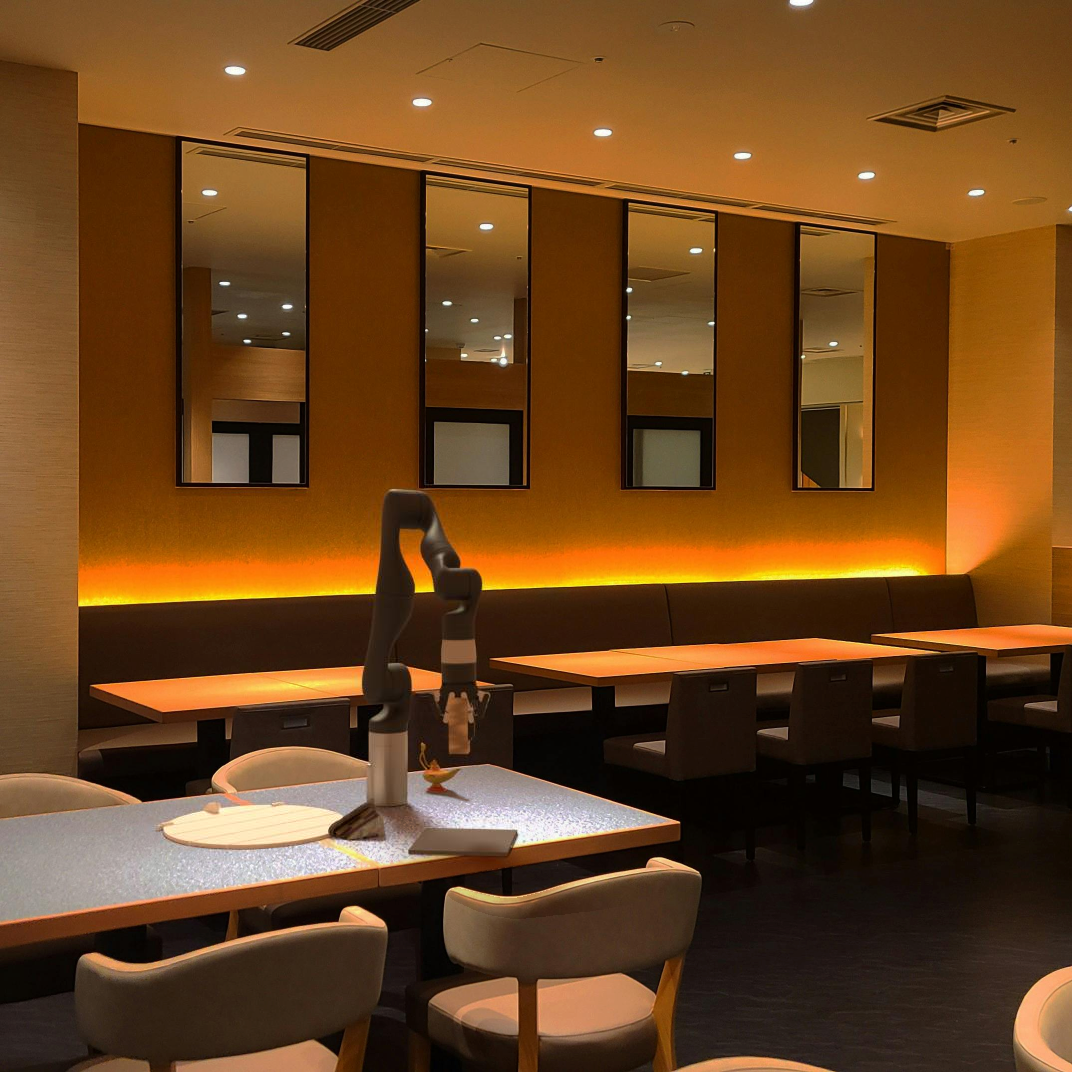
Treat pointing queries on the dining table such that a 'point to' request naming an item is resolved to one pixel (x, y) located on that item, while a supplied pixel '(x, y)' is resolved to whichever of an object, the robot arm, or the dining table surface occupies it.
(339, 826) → the chocolate cake
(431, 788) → the magic lamp
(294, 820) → the lazy susan
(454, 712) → the oak pillar
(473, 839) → the charcoal mat
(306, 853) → the dining table surface
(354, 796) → the dining table surface
